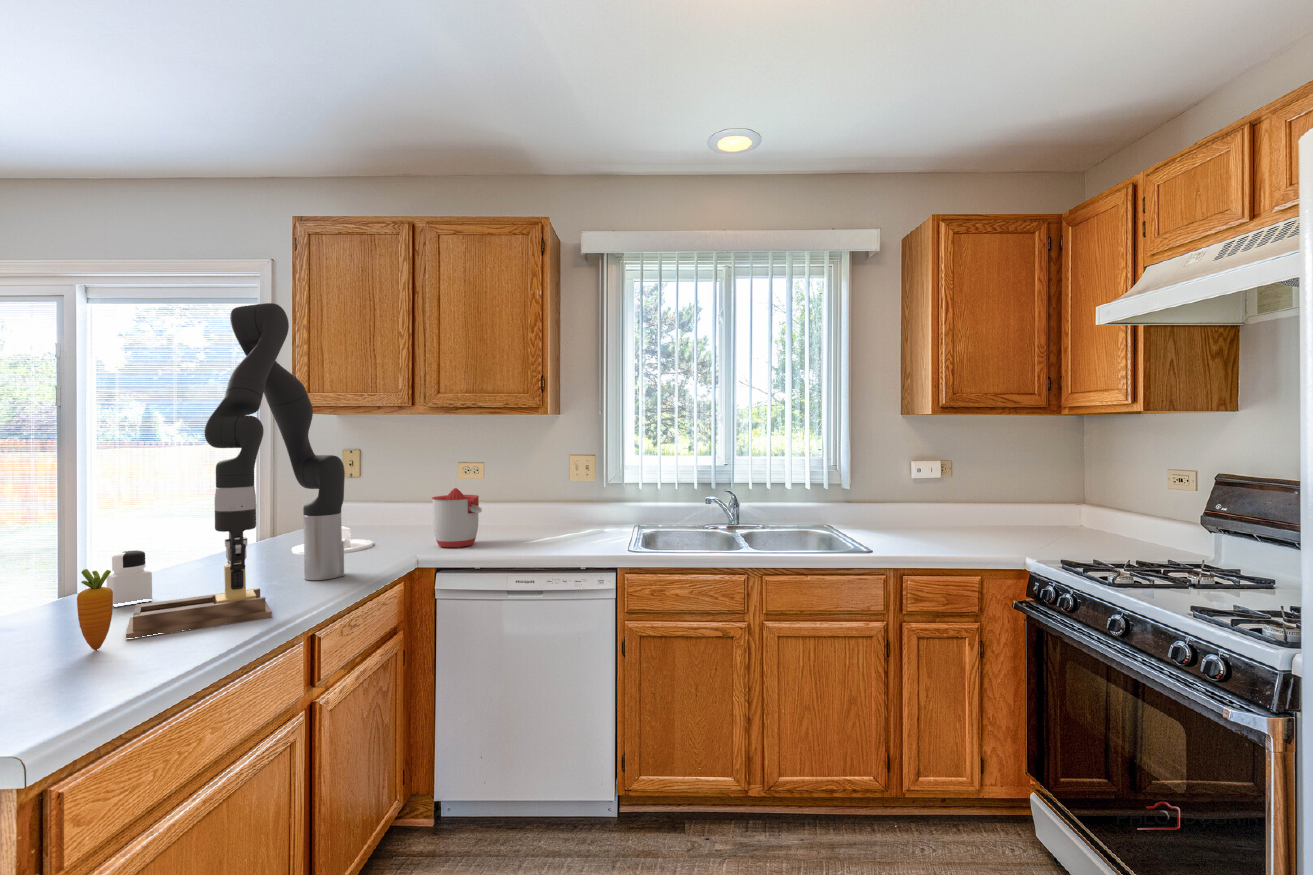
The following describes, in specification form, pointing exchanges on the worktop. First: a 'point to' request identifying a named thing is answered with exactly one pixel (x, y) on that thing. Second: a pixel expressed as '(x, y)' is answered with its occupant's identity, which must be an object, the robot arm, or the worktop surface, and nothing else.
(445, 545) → the citrus juicer
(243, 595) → the flanged block
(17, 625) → the worktop surface
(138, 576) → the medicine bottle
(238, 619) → the track
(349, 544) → the dish
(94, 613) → the carrot
